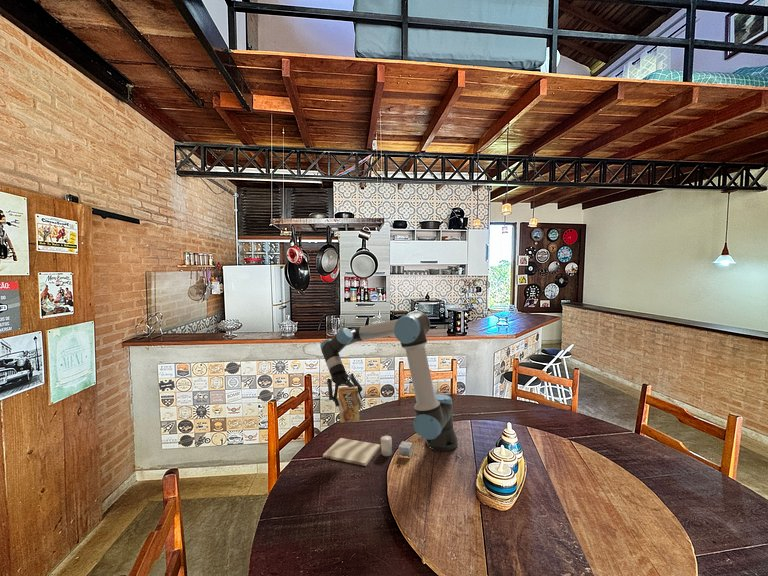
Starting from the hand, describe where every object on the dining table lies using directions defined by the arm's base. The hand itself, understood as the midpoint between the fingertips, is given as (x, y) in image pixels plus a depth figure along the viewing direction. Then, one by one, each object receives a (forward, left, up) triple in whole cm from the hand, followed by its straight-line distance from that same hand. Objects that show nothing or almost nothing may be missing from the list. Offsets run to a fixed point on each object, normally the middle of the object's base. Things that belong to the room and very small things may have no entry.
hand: (352, 409), depth 149 cm
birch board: (+2, -2, -22) cm, 22 cm away
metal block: (-23, -7, -22) cm, 32 cm away
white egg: (-14, -6, -22) cm, 26 cm away
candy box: (+3, -2, -7) cm, 7 cm away
